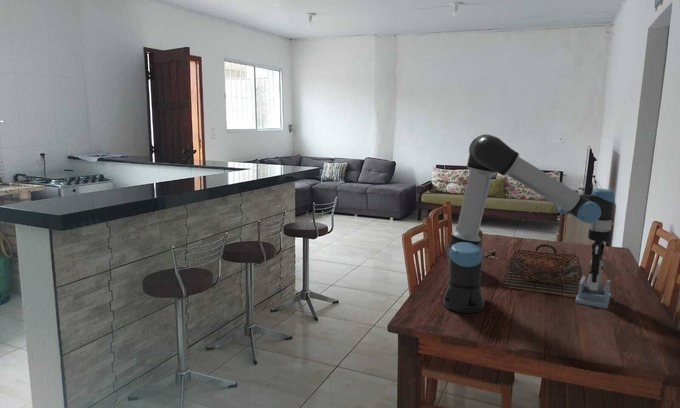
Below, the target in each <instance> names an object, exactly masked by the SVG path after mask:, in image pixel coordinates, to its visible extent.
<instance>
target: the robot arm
mask: <svg viewBox="0 0 680 408" xmlns="http://www.w3.org/2000/svg"><path fill="white" fill-rule="evenodd" d="M468 154H469V155H468V159H467V164H466V168H467V170H468V171H469V173H468V176H467V182H466V187H465V191H464V195H463V200H462V205H461V208H460V213H459V217H458V221H457V229H456V228H455V230H454V231H452V232H451V234H450V239H449V242H448V244H447V246H446V252H445V253H446V257H447V260H448V265H449V272H448V286H447V289H446V291H445V294H444V296H443V300H442V301H443V303H442V304H443V306H444V307H445V308H446V309H448V310H450V311H453V312H457V313H461V314H462V313H463V314H474V313H480V312H482V311H483V310H484V309H485V300H484V296H483V292H482V289H481V288H482V287H481V280H482V263H483V262H482V261H483V250H482V248H480V247H479V245H480V241H481V239H480V237H479V236H478V233H479V229H481V228H480V227H481V225H482V224H481V223H482V220H483V215H484V211H485V207H486V204H487V203H486V202H487V199H488V195H489V191H490V190H489V189H490V186H491V182H492V177H493V176H494V175H496V174H499V175H501V176H502V177H505V176H509V178H511V179H512V180H515V181H516V182H518V183H520V185H522V186H525V187H526V188H527V189H529V190H531V191H533V192H534V193H536V194H538V195H539V196H541V197H543V199H545V200H547V201H549V202H551V203H553V204H554V205H556V208H557V211H558V213H559V214H563V215H564V214H565V215H571V216H573V217H575V218H576V219H578V220H579V221H581V222H583V223H586V224H589V225H588V228H589V229H588V234H587V236H588V237H587V238H588V239H589V240H591V241H594V242H592V246H591V250H592V251H591V255H592V257H591V260H592V265H591V264H590V267H591V268H590V271H588V274H589V275H590V274H591V277H590V288H589V289H590V290H596V291H597V289H598V279H599V265H600V260H602V261H603V254H604V249H605V243H606V242H609V241H611V234H612V231H611V230H612V226H614V225H615V224H614V222H612V221H613V214H614V206H615V192H614V191H613V190H611V189H605V188H595V189H593V190H592V191H591V194H581V193H579V192H577V191H576V190H573V189H572V188H570V187H569V186H567V185H566V184H564V183H562V182H561V181H559V180H558V179H556V178H554V177H553V176H551V175H549V174H547V173H546V172H544V171H543V170H541V169H539V168H538V167H536V166H534V165H533V164H532V163H530V162H529V161H526V160H525V159H524V158H522V157H520V153H519V152H517V151H516V150H514V149H513V148H511V147H510V146H509V145H508V144H506V143H505V142H504V141H503V140H502V139H500V138H498V137H497V136H494V135H491V134H480V135H478V136H476V137H475V138H474V139H473V140H472V142H471V143H470V145H469V148H468ZM603 268H604V267H603V266H602V267H601V270H603Z"/></svg>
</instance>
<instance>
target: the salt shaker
mask: <svg viewBox="0 0 680 408" xmlns="http://www.w3.org/2000/svg"><path fill="white" fill-rule="evenodd" d="M591 265H592V259H591V260H590V266H591ZM603 266H604V261H603V259H602V260H600V265H599V279H598V289H597V291H596V290H590V289H589V288H590V277H591V274H590V273H589V275H588V279H587V282H586V283H585V286H587V288H588V291H589V292H591V293H597V294H598V293H600V292H601V290H602V289H604V283H603V272H602V269H601V267H603Z"/></svg>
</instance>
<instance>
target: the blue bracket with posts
mask: <svg viewBox="0 0 680 408" xmlns="http://www.w3.org/2000/svg"><path fill="white" fill-rule="evenodd" d="M610 284H611V280H610V279H607V280H606V282H605V286H604V288H603V289H602V290H601V292H600V293H598V294H597V293H591V292H589V291H588V288H587V286H586V276H584V275H581V279H580V281H579V284H578V293H577V295H576V297H575V301H574V303H575V304H579V305H586V306H588V307H589V306H591V307H595V308H599V309H600V308H601V309H604V310H605V309H606V310H608V307H609V304H610V300H611V297H612V296H611V293H610Z"/></svg>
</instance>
